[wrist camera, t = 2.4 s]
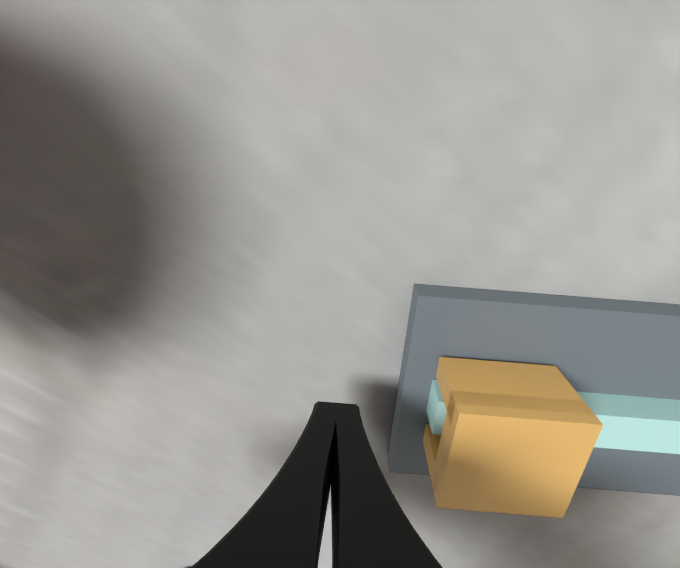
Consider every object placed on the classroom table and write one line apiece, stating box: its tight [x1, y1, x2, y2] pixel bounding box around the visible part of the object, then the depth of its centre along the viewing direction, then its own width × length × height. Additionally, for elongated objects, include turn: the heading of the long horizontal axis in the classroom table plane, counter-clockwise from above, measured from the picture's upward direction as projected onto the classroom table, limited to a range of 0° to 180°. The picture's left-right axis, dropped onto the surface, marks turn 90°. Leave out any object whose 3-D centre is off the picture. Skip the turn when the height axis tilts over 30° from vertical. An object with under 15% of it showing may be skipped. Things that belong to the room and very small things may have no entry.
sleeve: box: [423, 357, 603, 518], centre depth 13 cm, size 4×4×3 cm
